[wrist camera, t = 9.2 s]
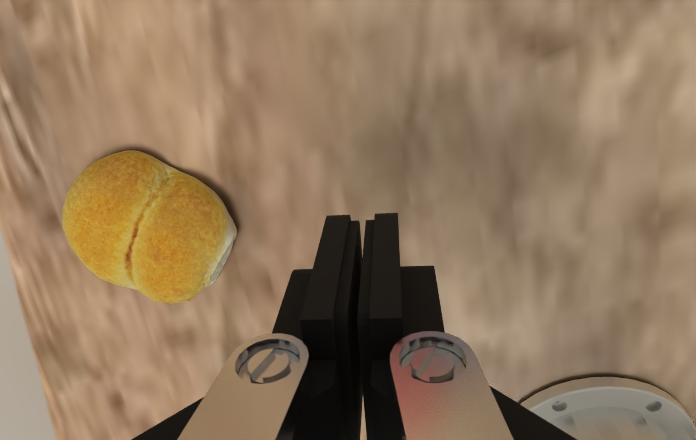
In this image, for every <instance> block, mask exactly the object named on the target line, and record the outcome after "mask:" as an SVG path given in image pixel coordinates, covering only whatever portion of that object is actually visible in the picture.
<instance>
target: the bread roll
mask: <svg viewBox="0 0 696 440" xmlns="http://www.w3.org/2000/svg"><path fill="white" fill-rule="evenodd" d="M63 228H64V232H65V235H66V238H67V240H68V242H69V244H70V246H71V247H72V249H73V250H74V252H75V253H76V255H77V256H78V257H79V258H80V259H81V260H82V262H83V263H84V264H85V265H86V266H87V267H88V268H89V269H90V270H91V271H92V272H93V273H94V274H95V275H96V276H98V277H99V278H101V279H103V280H105V281H108V282H110V283H113V284H116V285H119V286H123V287H128V288H132V289H136V290H139V291H141V292H142V293H143V294H144V295H145V296H147V297H148V298H150V299H151V300H153V301H155V302H162V303H179V302H185V301H190V300H191V299H193V298H194V297H195V296H196V295H197V294H199V293H200V292H202V291H203V290H204V289H205V288H206V287H208V286H209V285H210V284H212V283H214V282H215V280H216V278H217V277H218V275H219V273H220V272H221V270H222V268H223V266H224V264H225V263H226V261H227V258H228V256H229V254H230V252H231V249H232V246H233V241H234V239H235V238H236V235H237V228H236V226H235V224H234V222H233V220H232V218H231V216H230V215H229V213H228V211H227V209H226V207H225V205H224V203H223V202H222V200H221V199H220V198H219V196H218V195H217V194H216V193H215V192H214V191H213V190H212V189H210V188H209V187H208V186H206V185H205V184H204V183H202V182H201V181H199V180H198V179H196V178H195V177H192V176H190V175H188V174H185V173H183V172H181V171H179V170H176V169H174V168H172V167H170V166H168V165H166V164H165V163H163V162H161V161H160V160H158V159H156V158H154V157H152V156H150V155H148V154H146V153H143V152H140V151H134V150H127V151H122V152H118V153H114V154H111V155H108V156H106V157H104V158H101V159H99V160H97V161H96V162H94V163H92V164H91V165H89V166H88V167H87V168H86V169H85V170H84V171H83V172H82V173H81V174H80V175H79V176H78V177H77V178H76V180H75V181H74V182H73V184H72V185H71V187H70V189H69V191H68V193H67V196H66V199H65V202H64V205H63Z"/></svg>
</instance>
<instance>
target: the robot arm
mask: <svg viewBox="0 0 696 440" xmlns="http://www.w3.org/2000/svg"><path fill="white" fill-rule="evenodd" d="M362 398H364V409H365V421H366V432H367V440H696V427H695V425H694V423H693V422H692V420H691V418H690V417H689V415H688V414H687V413H686V411H685V410H684V409H683V407H682V406H681V405H680V403H679V402H678V401H676V400H675V399H674V398H673V397H672V396H670V395H669V394H668V393H666V392H664V391H662V390H661V389H659V388H657V387H655V386H653V385H650V384H647V383H643V382H640V381H637V380H633V379H625V378H618V377H591V378H584V379H577V380H571V381H568V382H564V383H561V384H557V385H554V386H552V387H549V388H547V389H545V390H543V391H540V392H538V393H536V394H535V395H533V396H531V397H530V398H528V399H527V400H525V401H524V402H522V403H521V404H518V403H517V402H515V401H514V400H512V399H510V398H509V397H507V396H505V395H504V394H502V393H500V392H499V391H497V390H496V389H494V388H492V387H491V386H489V384H488V382H487V380H486V378H485V376H484V373H483V371H482V369H481V367H480V365H479V362H478V360H477V358H476V356H475V354H474V352H473V351H472V349H471V348H470V347H469V345H468V344H466V343H465V342H464V341H462V340H461V339H460V338H458V337H455V336H453V335H450V334H448V333H445V331H444V325H443V319H442V313H441V306H440V300H439V294H438V288H437V281H436V275H435V269H434V266H405V267H400V254H399V229H398V213H386V214H375V220H366V225H365V236H364V247H363V258H362V247H361V234H360V223H359V221H351V217H350V215H335V216H327V217H326V220H325V224H324V228H323V232H322V236H321V239H320V243H319V247H318V251H317V255H316V258H315V262H314V266H313V269H299V270H293V272H292V274H291V277H290V280H289V283H288V286H287V289H286V292H285V295H284V298H283V301H282V304H281V307H280V310H279V313H278V316H277V319H276V322H275V325H274V328H273V331H272V334H266V335H261V336H257V337H255V338H253V339H250V340H248V341H246V342H245V343H243V344H242V345H240V346H239V347H238V348H236V350H235V351H234V352H233V353H232V354H231V355H230V357H229V358H228V360H227V362H226V363H225V365H224V366H223V368H222V369H221V371H220V373H219V374H218V376H217V377H216V379H215V381H214V382H213V384H212V385H211V387H210V388H209V390H208V392H207V393H206V395H205V396H204V397H203V398H201V399H200V400H198V401H196V402H195V403H193V404H191V405H190V406H188V407H186V408H184V409H183V410H181V411H179V412H178V413H176V414H174V415H173V416H171V417H169V418H167V419H166V420H164V421H162V422H161V423H159V424H157V425H156V426H154V427H152V428H150V429H149V430H147V431H145V432H144V433H142V434H140V435H139V436H137V437H135V438H133V439H132V440H360V431H361V414H362Z"/></svg>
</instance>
